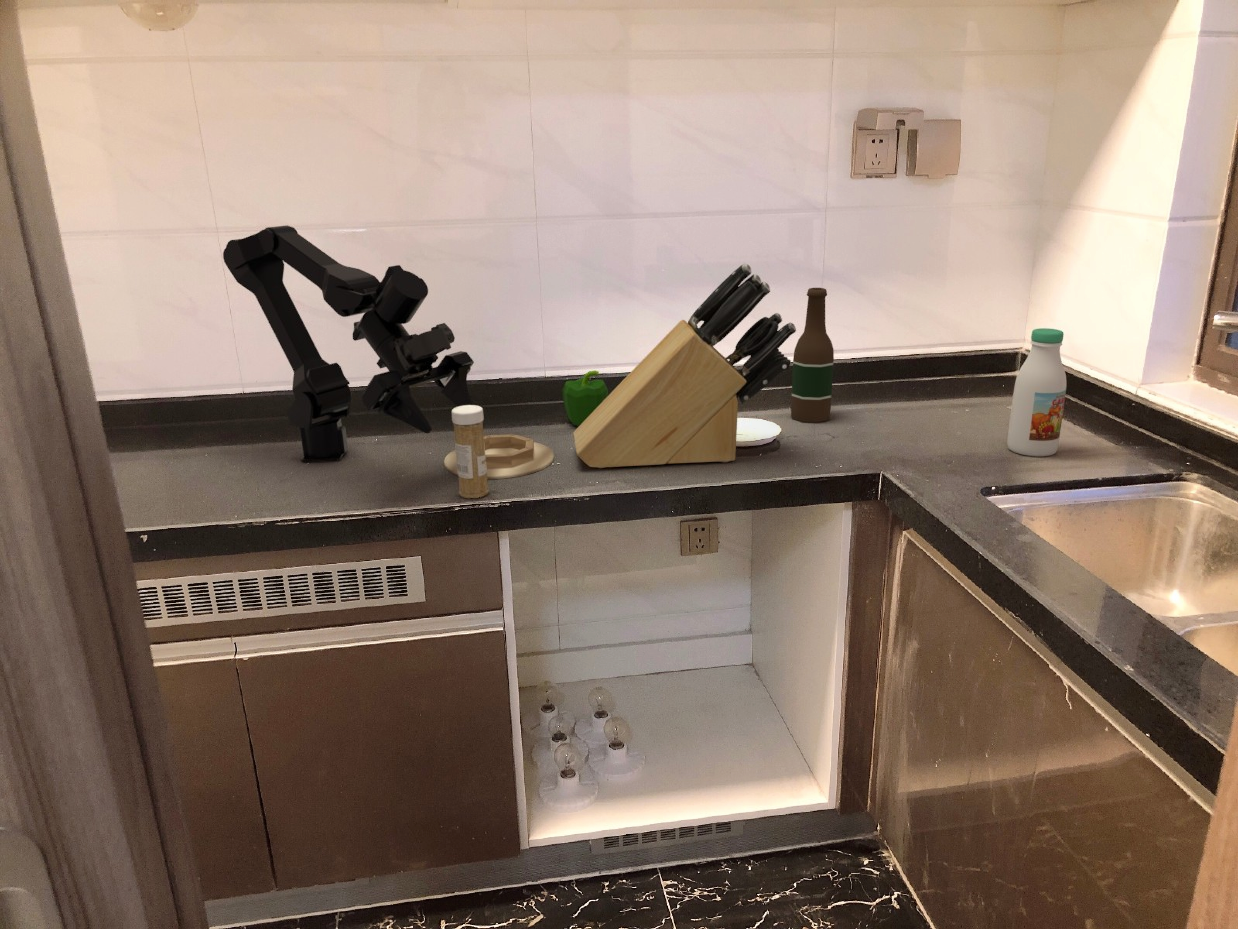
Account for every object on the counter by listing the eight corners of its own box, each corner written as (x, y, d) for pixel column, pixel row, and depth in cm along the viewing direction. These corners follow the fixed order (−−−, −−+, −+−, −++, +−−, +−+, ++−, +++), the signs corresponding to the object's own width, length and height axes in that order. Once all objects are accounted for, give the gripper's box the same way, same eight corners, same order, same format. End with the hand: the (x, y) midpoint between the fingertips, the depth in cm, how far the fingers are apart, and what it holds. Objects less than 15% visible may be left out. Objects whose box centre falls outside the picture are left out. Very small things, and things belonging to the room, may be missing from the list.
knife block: (793, 461, 149) (802, 268, 139) (577, 472, 146) (569, 276, 136) (775, 439, 160) (782, 259, 149) (573, 449, 157) (566, 266, 146)
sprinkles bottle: (494, 495, 138) (488, 408, 133) (466, 501, 135) (459, 414, 131) (481, 486, 141) (474, 402, 137) (453, 492, 139) (446, 407, 134)
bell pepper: (556, 427, 169) (553, 374, 166) (573, 415, 176) (571, 364, 173) (598, 431, 166) (597, 378, 163) (614, 419, 173) (613, 367, 170)
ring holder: (438, 481, 143) (437, 465, 143) (450, 445, 160) (449, 431, 160) (553, 476, 144) (552, 461, 144) (553, 441, 161) (553, 427, 161)
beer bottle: (800, 409, 177) (806, 283, 169) (838, 415, 172) (846, 287, 164) (782, 419, 171) (787, 289, 163) (821, 426, 166) (828, 293, 158)
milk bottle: (1007, 455, 150) (1022, 334, 143) (1005, 440, 156) (1020, 324, 150) (1058, 459, 147) (1077, 336, 140) (1055, 445, 154) (1072, 326, 147)
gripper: (365, 319, 126) (430, 406, 124) (459, 299, 141) (519, 377, 139) (335, 368, 133) (396, 452, 131) (428, 344, 148) (484, 419, 145)
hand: (452, 423), depth 136 cm, fingers open, 9 cm apart
